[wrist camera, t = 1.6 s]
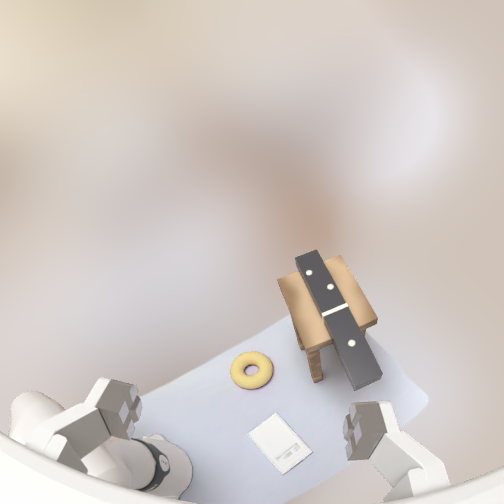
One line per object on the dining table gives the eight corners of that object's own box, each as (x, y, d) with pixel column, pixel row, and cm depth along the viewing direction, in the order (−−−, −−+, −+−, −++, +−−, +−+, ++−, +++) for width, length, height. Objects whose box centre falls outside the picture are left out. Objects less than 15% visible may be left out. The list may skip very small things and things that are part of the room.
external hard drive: (277, 413, 62) (313, 451, 54) (248, 434, 60) (283, 474, 52) (276, 411, 61) (312, 451, 53) (246, 434, 59) (282, 475, 51)
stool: (315, 391, 63) (306, 348, 44) (295, 340, 72) (277, 279, 53) (364, 370, 63) (377, 318, 44) (340, 322, 73) (340, 254, 53)
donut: (239, 358, 75) (232, 391, 68) (232, 349, 73) (223, 382, 66) (277, 357, 72) (271, 391, 65) (271, 347, 69) (264, 383, 62)
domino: (354, 391, 38) (355, 386, 36) (296, 267, 54) (294, 257, 52) (380, 378, 38) (383, 373, 36) (317, 258, 54) (316, 248, 52)
